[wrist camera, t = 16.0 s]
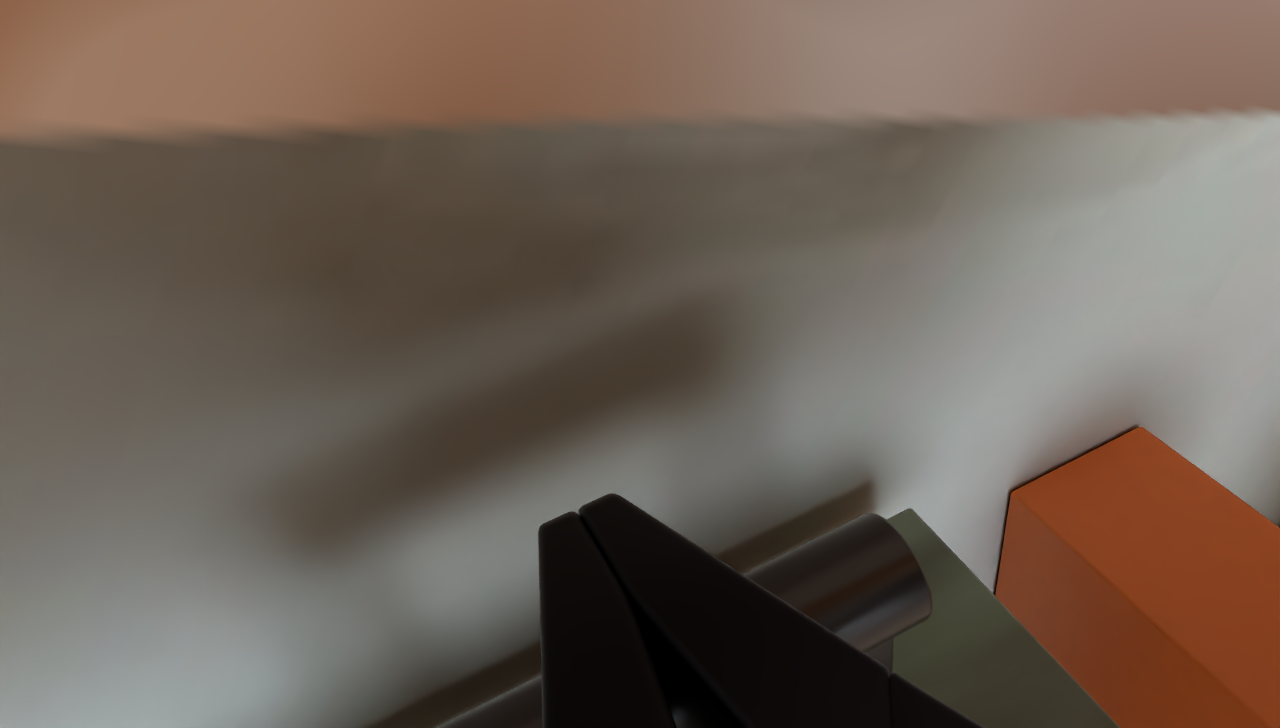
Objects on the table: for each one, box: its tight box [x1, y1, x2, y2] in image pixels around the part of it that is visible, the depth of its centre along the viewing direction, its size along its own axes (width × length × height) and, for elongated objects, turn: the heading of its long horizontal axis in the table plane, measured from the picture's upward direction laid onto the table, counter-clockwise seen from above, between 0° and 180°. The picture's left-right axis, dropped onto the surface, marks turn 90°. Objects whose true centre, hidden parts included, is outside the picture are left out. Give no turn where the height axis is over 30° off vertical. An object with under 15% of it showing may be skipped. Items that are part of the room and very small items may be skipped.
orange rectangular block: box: [995, 427, 1280, 728], centre depth 18 cm, size 5×4×8 cm
